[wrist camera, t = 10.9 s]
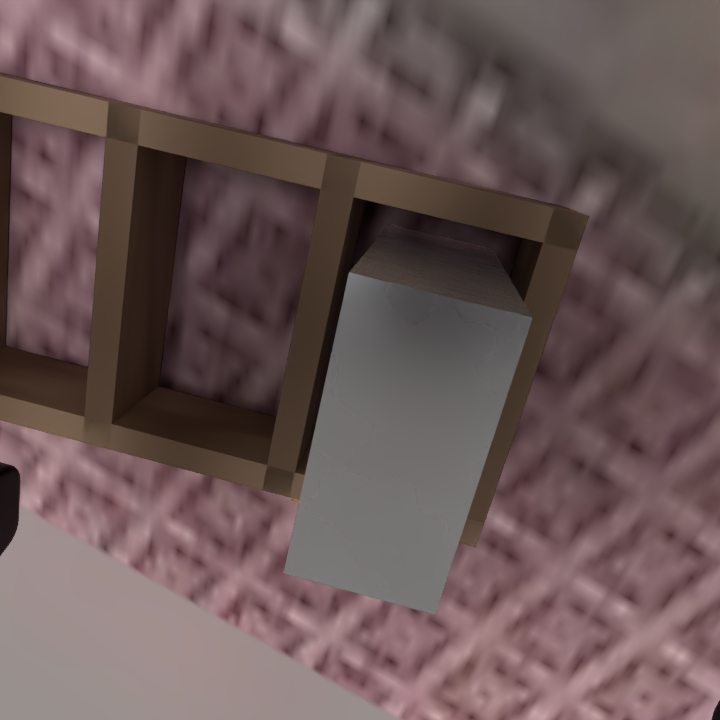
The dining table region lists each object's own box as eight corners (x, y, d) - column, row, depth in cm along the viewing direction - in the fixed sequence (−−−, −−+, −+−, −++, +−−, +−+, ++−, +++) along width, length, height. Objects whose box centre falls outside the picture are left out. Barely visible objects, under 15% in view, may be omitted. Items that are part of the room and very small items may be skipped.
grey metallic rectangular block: (492, 248, 17) (532, 317, 10) (437, 436, 19) (435, 614, 12) (389, 223, 17) (348, 272, 10) (345, 412, 19) (283, 573, 12)
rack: (563, 206, 17) (589, 216, 14) (467, 501, 20) (471, 559, 17) (-14, 69, 17) (-103, 51, 15) (-19, 373, 20) (-92, 408, 18)
